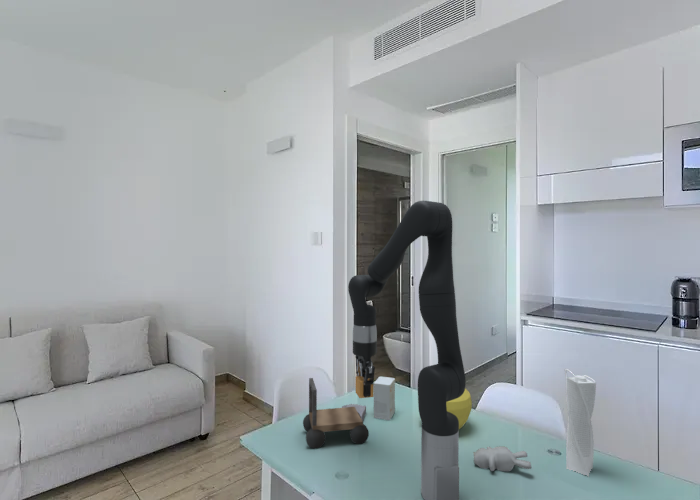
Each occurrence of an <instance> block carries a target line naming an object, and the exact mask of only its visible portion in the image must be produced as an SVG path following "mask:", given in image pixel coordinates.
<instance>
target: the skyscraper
mask: <svg viewBox="0 0 700 500" xmlns="http://www.w3.org/2000/svg"><path fill="white" fill-rule="evenodd" d="M567 372H569V373H570V374H571V375H572V376H568V373H567ZM564 374H565V397H566V398H565V399H566V402H565V403H566V411H567V417H568V419H567V424H566V425H567V426H566V427H567V428H566V445H565V447H566V449H565V450H566V451H565V452H566V453H565V456H566V460H565V461H566V470H567V469H569V470H568V471H571V470H573V471H572V472H574V471H576V472H575V473H577V472H578V473H577V474H579V473H581V474H580V475H582V474H583V476H585V475H587V476H588V477H587V476H586V477H587V478H589V477H590V474H591V472H590V471H592V470H593V469H594V455H595V454H594V453H595V452H594V451H595V449H594V447H595V445H594V444H595V443H594V440H595V439H594V430H593V424H592V420H591V419H592V416H593V412H594V407H595V400H596V390H597V389H596V388H597V382H596V380H595V379H594V378H592V377H591V376H588V375H587V374H583V375H579V374H578V375H575V374H574V372H572V371H571V370H570V369H569V368H565V369H564ZM591 469H592V470H591ZM589 473H590V474H589Z"/></svg>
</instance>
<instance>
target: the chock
mask: <svg viewBox="0 0 700 500" xmlns="http://www.w3.org/2000/svg"><path fill="white" fill-rule="evenodd" d="M367 381H369V378H368V380H367ZM355 393H356V395H357V396H358V398H359V399H365V398H374V383H373V384H372V385H371V396H370V397H364V396H363V377H361V376H358V375H357V376H355Z"/></svg>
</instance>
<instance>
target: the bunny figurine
mask: <svg viewBox="0 0 700 500" xmlns="http://www.w3.org/2000/svg"><path fill="white" fill-rule="evenodd" d="M472 453H473V455H472V456H473V462H474V463H473V464H474V465H476V466H478V467H479V468H480V469H482V468H483V469H485V470H486V469H489V470H490V471H491V472H494V471H495V470H497V471H500V472H511V471H512V470H513V469H514V467H515V466H517V467H519V468H523V469H524V470H525V469H527V470H531V469H532V463H531V461H529V460H523V459H519V458H527V457H528V453H527V451H524V450H521V451H520V450H519V451H517V452H512V451H511V449H509V448H508V447H507V446H500V445H499V446H494V447H491V446H487V447H486V448H485V447H480V448H478V449H477V450H476V451H473V452H472ZM483 469H482V470H483Z"/></svg>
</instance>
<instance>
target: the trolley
mask: <svg viewBox="0 0 700 500" xmlns="http://www.w3.org/2000/svg"><path fill="white" fill-rule="evenodd" d="M317 393H318V390H317V387H316V384H315V380H314V378H313V377H309V378H308V413H307V414H306V415H305V416H304V418H303V420H302V425H303V429H304V430H305V431H306V434H305V435H306V436H305V439H306V444H307V446H308V447H310V448H311V449H319V448H322V446H323V445H324V444H325V442H326V434H325V432H334V431H335V432H336V431H346V430H347V431H348V430H349V438H350V439H351V441H352V442H353V443H354V444H356V445H361V444H363V443H365V442H367V440H368V438H369V435H370V433H369V432H370V431H369V429H368V427H367V425H366V424H364V420H363V421H362V419H361V416H360V414H359V413H358V412H357V410H356V408H355V407H345V408H342V407H336V408H334V407H333V408H325V409H324V408H322V409H317V408H318V406H317V404H318V403H317V402H318V401H317V400H318V399H317V398H318V397H317V396H318V395H317Z"/></svg>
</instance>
